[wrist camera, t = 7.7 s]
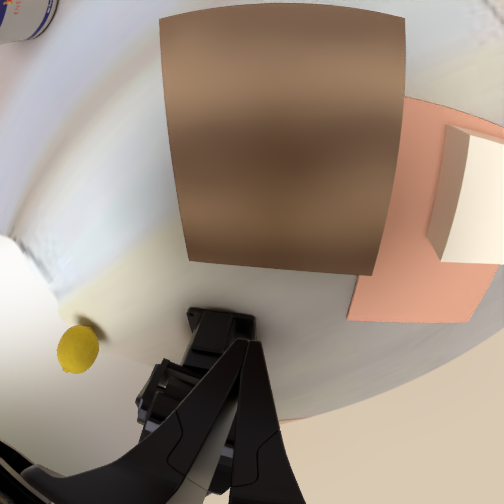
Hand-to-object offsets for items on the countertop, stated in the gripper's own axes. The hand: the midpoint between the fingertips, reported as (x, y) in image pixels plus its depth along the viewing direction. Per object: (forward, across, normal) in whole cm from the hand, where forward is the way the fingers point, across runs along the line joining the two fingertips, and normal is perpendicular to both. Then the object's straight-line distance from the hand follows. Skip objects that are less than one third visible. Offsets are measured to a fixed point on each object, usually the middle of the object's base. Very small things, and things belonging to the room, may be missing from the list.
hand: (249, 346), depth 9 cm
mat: (+11, -13, +1) cm, 17 cm away
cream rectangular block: (+9, -13, -4) cm, 16 cm away
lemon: (+12, +24, +20) cm, 34 cm away
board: (+11, 0, -5) cm, 12 cm away
